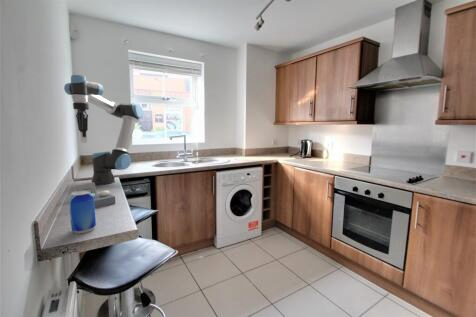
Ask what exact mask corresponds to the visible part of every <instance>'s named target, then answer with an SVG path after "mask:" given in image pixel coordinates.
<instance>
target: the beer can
mask: <svg viewBox="0 0 476 317" xmlns="http://www.w3.org/2000/svg"><path fill="white" fill-rule="evenodd" d="M68 206H69V215H70V216H69V217H70V226H71V231H73V233H75V234H77V233H78V234H86V233H89V232H92V231H93V230H94V229H95V227H96V226H97V221H96V208H95V206H94V196H93V195H92V194H91V191H89V190H82V191H77V190H76V191H73V192H71V194H70V197H69V198H68ZM91 230H92V231H91Z"/></svg>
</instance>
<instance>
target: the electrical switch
mask: <svg viewBox="0 0 476 317" xmlns="http://www.w3.org/2000/svg"><path fill="white" fill-rule="evenodd" d="M75 188H76V191H82V190H89V191H91V193H95V194H98V192H97V188H96V185H95V183H92V182H89V183H88V182H87V183H84V184H83V183H81V184H77V185H76V186H75Z"/></svg>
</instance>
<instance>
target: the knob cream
mask: <svg viewBox="0 0 476 317" xmlns="http://www.w3.org/2000/svg"><path fill="white" fill-rule="evenodd" d="M99 194H100V196H103V197H104V196H108V195H109V194H110V191H109V190H101V191H99Z"/></svg>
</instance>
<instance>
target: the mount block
mask: <svg viewBox="0 0 476 317" xmlns="http://www.w3.org/2000/svg"><path fill="white" fill-rule="evenodd" d="M113 204H114V205H115V204H116V196H115V195H113V194H111V193H109V195H108V196H104V197H103V196H100V193H97V194H95V198H94V206H95V209H99V208H102V207H106V206H110V205H113Z"/></svg>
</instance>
